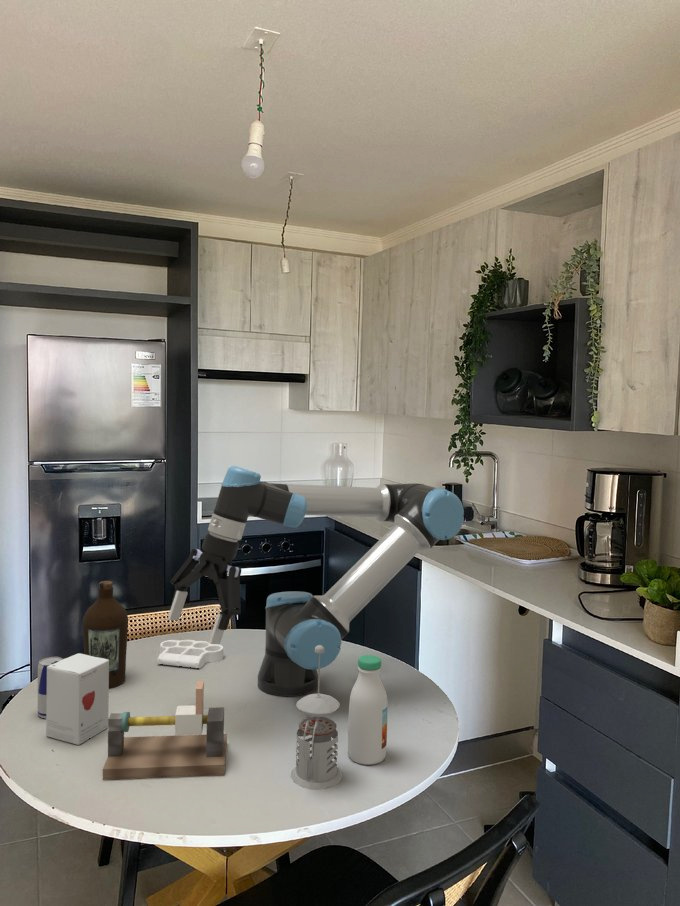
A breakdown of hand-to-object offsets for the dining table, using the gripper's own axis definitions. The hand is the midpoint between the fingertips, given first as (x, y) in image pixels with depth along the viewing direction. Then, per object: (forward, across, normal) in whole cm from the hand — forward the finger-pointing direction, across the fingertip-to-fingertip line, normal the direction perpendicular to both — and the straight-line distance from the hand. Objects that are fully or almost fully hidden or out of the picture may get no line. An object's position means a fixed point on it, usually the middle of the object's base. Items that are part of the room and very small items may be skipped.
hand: (193, 631), depth 147 cm
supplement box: (+26, -11, -12) cm, 31 cm away
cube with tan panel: (+15, +14, -7) cm, 21 cm away
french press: (+14, +37, +5) cm, 40 cm away
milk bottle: (+11, +40, +17) cm, 44 cm away
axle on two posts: (+22, +12, -8) cm, 26 cm away
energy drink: (+28, -23, -10) cm, 38 cm away
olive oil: (+24, -30, +7) cm, 39 cm away
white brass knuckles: (+18, -26, +30) cm, 44 cm away
